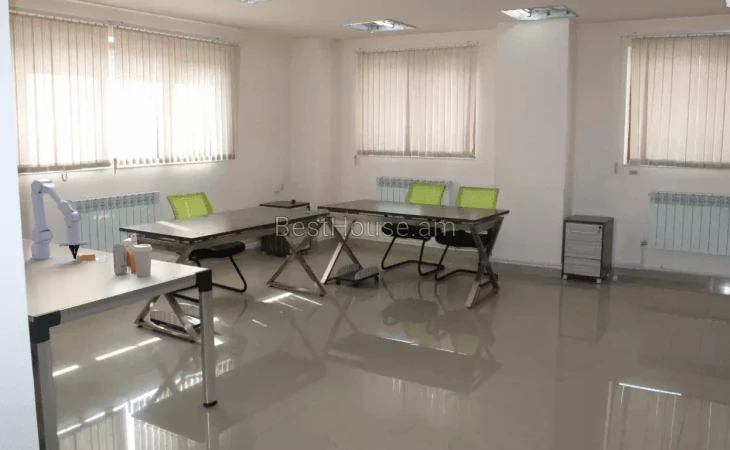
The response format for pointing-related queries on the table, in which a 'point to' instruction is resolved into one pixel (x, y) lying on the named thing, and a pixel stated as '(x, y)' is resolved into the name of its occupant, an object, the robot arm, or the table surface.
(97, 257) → the board
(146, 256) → the coffee cup
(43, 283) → the table surface
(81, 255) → the t block
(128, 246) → the ink cartridge box
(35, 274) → the table surface
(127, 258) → the arch
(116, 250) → the energy drink can
